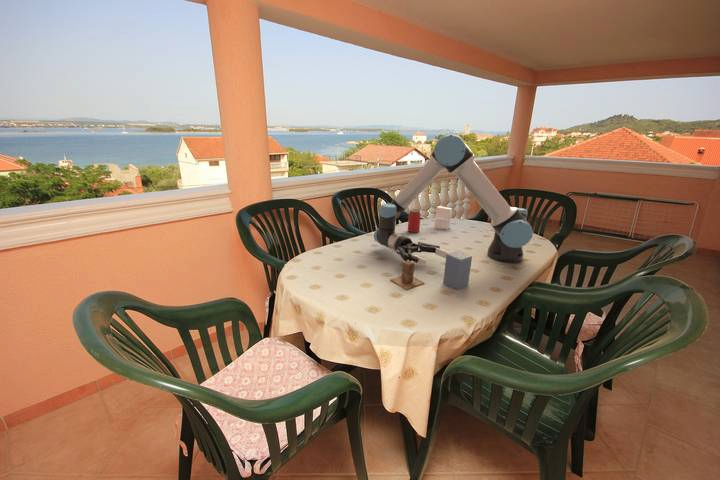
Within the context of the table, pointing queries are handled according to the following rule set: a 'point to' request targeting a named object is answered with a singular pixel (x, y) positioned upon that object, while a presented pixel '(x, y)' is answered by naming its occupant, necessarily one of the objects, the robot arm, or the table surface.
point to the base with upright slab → (443, 217)
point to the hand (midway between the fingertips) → (437, 259)
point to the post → (407, 277)
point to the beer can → (414, 221)
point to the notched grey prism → (457, 269)
